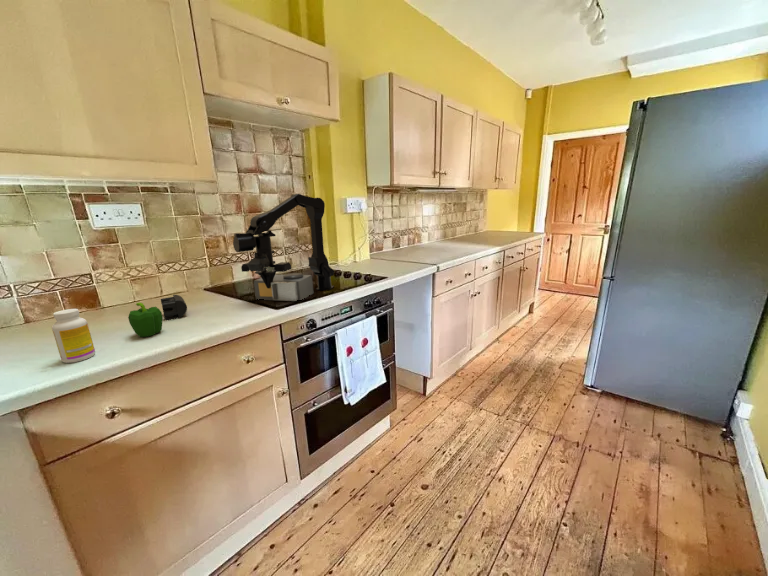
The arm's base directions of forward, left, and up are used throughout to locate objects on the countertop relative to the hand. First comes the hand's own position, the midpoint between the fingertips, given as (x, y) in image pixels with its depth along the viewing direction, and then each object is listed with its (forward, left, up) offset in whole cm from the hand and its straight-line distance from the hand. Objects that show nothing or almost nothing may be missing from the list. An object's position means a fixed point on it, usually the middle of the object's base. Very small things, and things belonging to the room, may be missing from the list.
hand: (269, 288), depth 131 cm
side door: (0, +7, -5) cm, 8 cm away
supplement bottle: (+54, -23, -6) cm, 59 cm away
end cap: (+20, -26, -6) cm, 33 cm away
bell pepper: (+37, -19, -6) cm, 42 cm away
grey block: (-8, +2, -5) cm, 10 cm away
